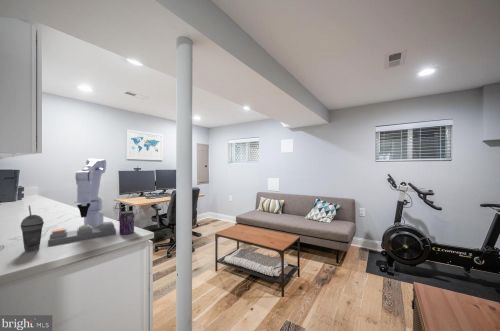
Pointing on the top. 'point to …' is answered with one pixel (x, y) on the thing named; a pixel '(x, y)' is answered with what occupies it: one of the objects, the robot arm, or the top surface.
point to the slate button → (106, 223)
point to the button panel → (80, 234)
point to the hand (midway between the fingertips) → (83, 217)
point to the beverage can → (126, 222)
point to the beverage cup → (31, 231)
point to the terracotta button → (58, 230)
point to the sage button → (84, 227)
